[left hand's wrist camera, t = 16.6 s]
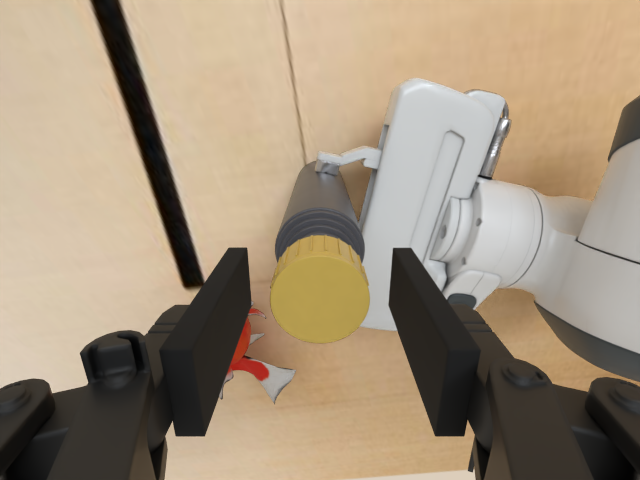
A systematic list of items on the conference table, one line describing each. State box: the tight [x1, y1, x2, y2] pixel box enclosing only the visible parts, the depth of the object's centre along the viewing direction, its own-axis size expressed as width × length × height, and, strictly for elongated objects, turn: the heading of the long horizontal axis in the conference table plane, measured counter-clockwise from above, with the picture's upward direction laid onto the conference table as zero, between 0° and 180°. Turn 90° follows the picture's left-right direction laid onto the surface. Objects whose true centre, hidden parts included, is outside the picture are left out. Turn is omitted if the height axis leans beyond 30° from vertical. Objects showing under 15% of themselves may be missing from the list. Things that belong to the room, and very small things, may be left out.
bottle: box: [275, 161, 365, 263], centre depth 23 cm, size 5×4×22 cm
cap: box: [270, 235, 370, 343], centre depth 14 cm, size 4×4×2 cm
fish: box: [219, 301, 296, 404], centre depth 36 cm, size 11×16×10 cm
